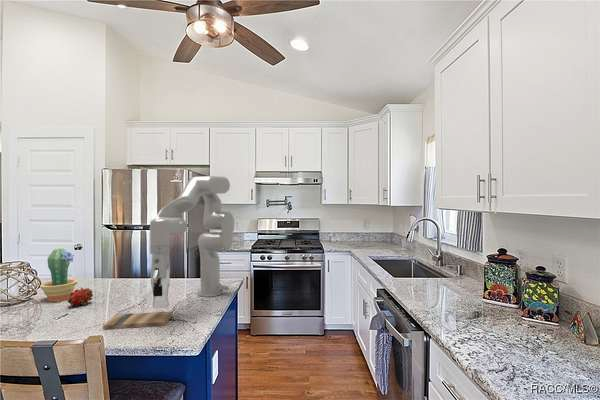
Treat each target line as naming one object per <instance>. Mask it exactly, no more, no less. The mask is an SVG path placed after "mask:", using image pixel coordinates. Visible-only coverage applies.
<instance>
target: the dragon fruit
mask: <svg viewBox="0 0 600 400" xmlns="http://www.w3.org/2000/svg"><path fill="white" fill-rule="evenodd" d="M93 299H94V294H93V290H91V289H90V288H89V287H86V288H83V287H80V289H75V290H73V292H72V293H71V294H70V297H69V299H67V303H69V304H70V306H71V308H72V307H74V308H75V307H78V306H81V305H82V306H85V305H86V304H88V302H90V301H92V300H93Z"/></svg>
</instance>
